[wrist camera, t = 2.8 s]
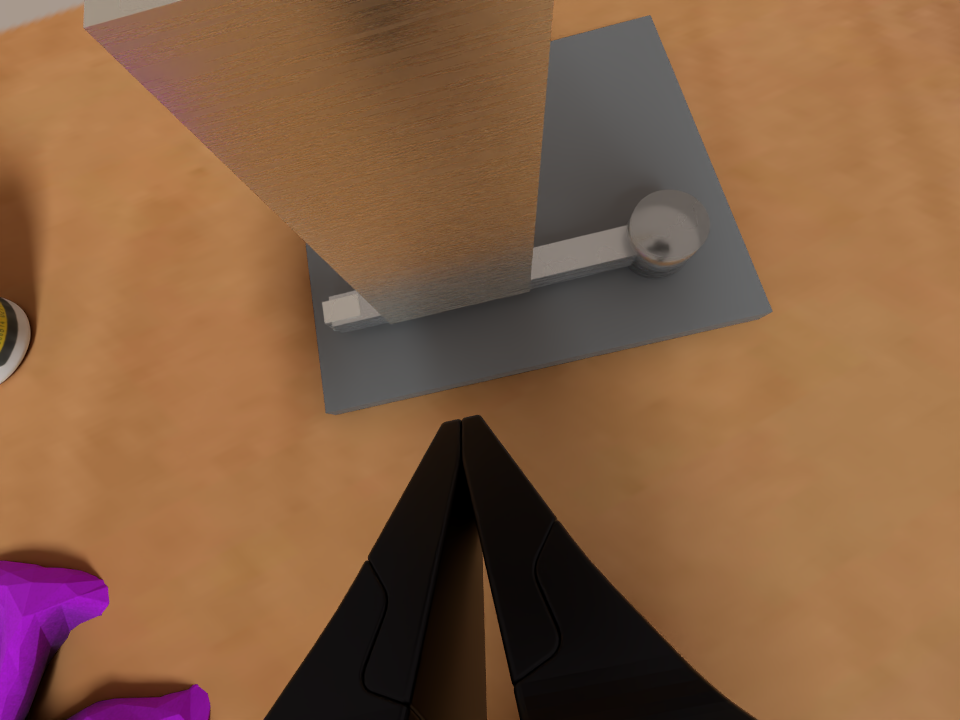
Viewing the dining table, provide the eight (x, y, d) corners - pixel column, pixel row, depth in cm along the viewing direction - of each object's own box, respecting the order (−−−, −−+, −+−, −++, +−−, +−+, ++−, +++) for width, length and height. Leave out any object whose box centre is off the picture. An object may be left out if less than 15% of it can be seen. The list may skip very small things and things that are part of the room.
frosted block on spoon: (675, 210, 18) (1100, -418, 5) (697, 269, 17) (1263, -282, 4) (333, 293, 18) (-96, -65, 6) (341, 352, 18) (-127, 104, 5)
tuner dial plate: (643, 31, 22) (650, 8, 20) (758, 318, 18) (775, 310, 16) (299, 121, 22) (287, 103, 21) (335, 414, 19) (323, 412, 17)
